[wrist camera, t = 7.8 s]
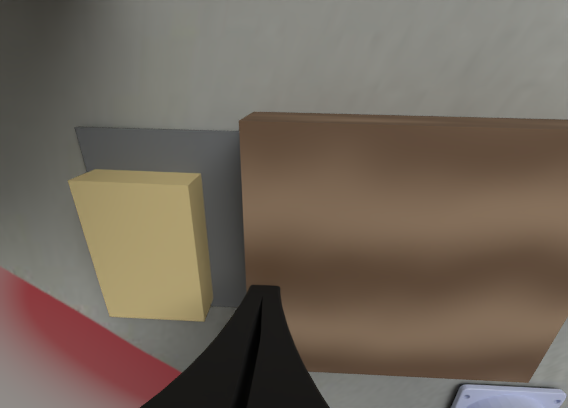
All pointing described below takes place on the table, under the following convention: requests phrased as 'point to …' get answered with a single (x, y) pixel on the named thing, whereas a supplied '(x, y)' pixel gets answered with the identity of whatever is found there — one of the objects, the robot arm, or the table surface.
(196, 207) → the pale yellow block
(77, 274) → the table surface
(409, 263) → the board
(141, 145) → the mat
